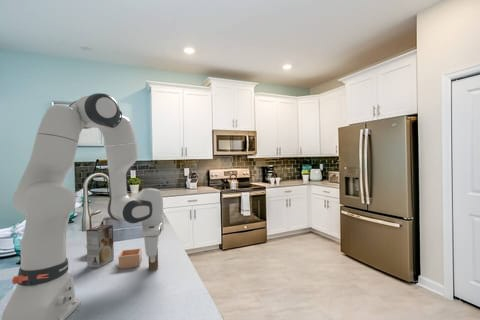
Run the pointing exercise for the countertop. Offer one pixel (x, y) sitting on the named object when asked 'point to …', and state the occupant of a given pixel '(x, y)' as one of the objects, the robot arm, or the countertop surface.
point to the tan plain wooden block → (154, 264)
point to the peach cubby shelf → (130, 258)
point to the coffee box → (99, 245)
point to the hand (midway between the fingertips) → (153, 259)
